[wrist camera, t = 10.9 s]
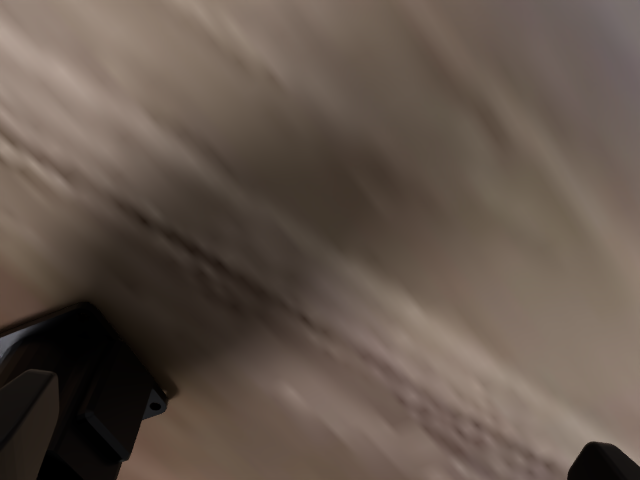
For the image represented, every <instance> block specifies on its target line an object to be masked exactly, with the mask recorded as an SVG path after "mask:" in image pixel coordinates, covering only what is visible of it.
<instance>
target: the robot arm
mask: <svg viewBox="0 0 640 480" xmlns="http://www.w3.org/2000/svg"><path fill="white" fill-rule="evenodd" d="M81 313H84V314H86V315H88V316H89V317H85V316H83V315H82V314H81ZM156 403H159V404H156ZM167 405H168V398H167V396H166V395H165V393H164V392H163V391H162V390H161V388H160V387H159V386H158V385H157V383H156V382H155V381H154V379H153V377H152V376H151V375H150V373H149V372H148V371H147V370H146V368H145V367H144V366H143V365H142V363H141V362H140V361H139V360H138V358H137V357H136V356H135V355H134V353H133V352H132V351H131V349H130V348H129V347H128V346H127V344H126V343H125V342H124V341H122V339H121V338H120V337H119V335H118V334H117V333H116V332H115V330H114V329H113V328H112V327H111V325H110V324H109V323H108V322H107V320H106V319H105V318H104V317H103V315H102V314H101V313H100V311H99V310H98V309H97V308H96V307H95V306H94V305H93V304H90V303H87V302H81V303H77V304H75V305H72V306H70V307H67V308H65V309H62V310H59V311H57V312H54V313H52V314H49V315H46V316H44V317H41V318H39V319H36V320H34V321H31V322H28V323H26V324H23V325H21V326H18V327H16V328H13V329H10V330H8V331H5V332H3V333H0V480H116V479H117V476H118V473H119V470H120V467H121V464H122V462H124V461H127V460H128V459H129V458H130V455H131V452H132V449H133V446H134V443H135V440H136V437H137V434H138V431H139V428H140V424H141V421H142V420H144V419H147V418H150V417H153V416H156V415H159V414H162V413H163V412H165V410H166V409H167ZM567 480H640V467H639V466H638V465H637V464H636V463H635V462H634V461H633V460H631V459H630V458H629V457H628V456H627V455H626V454H624V453H623V452H622V451H621V450H620V449H619V448H617V447H616V446H614V445H612V444H609V443H602V442H594V441H593V442H589V443H587V444H586V445H585V446H584V448H583V449H582V451H581V452H580V454H579V455H578V457H577V458H576V460H575V461H574V463H573V464H572V466H571V467H570V469H569V472H568V477H567Z"/></svg>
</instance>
